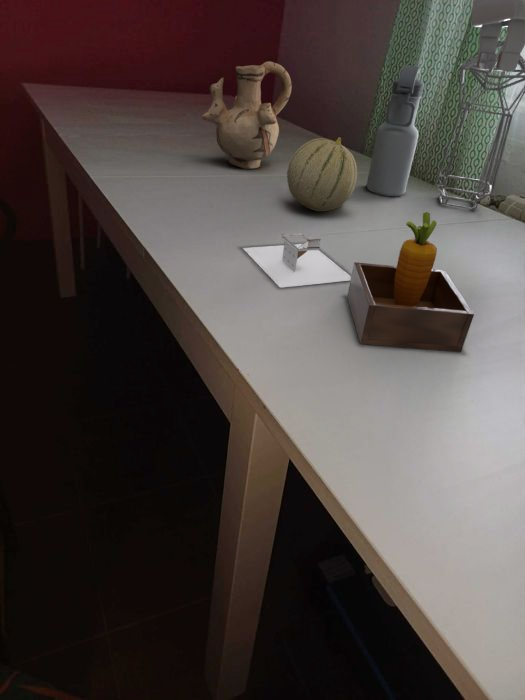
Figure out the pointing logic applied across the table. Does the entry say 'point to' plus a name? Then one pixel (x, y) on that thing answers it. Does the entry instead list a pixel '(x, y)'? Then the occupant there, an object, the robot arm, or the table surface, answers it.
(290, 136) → the table surface
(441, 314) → the basket
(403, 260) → the carrot
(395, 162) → the water bottle
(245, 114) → the ceramic vessel
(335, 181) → the cantaloupe
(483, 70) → the metal wire rack
